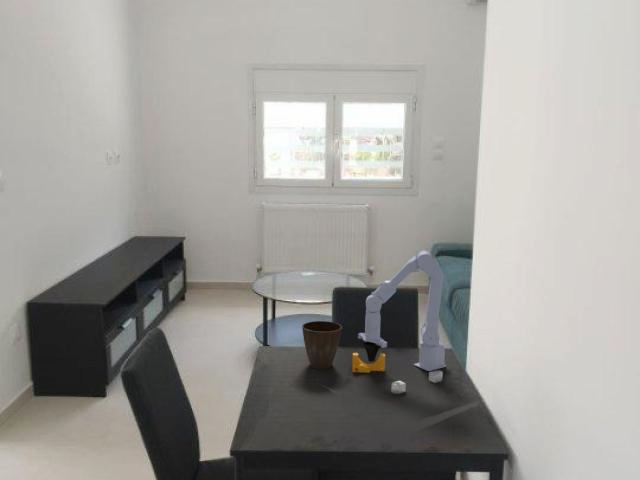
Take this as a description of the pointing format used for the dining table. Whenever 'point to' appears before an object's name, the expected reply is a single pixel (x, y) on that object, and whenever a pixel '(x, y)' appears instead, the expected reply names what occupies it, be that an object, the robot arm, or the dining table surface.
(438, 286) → the robot arm
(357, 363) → the pipe clamp
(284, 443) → the dining table surface
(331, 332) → the plant pot
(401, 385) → the chain ends
